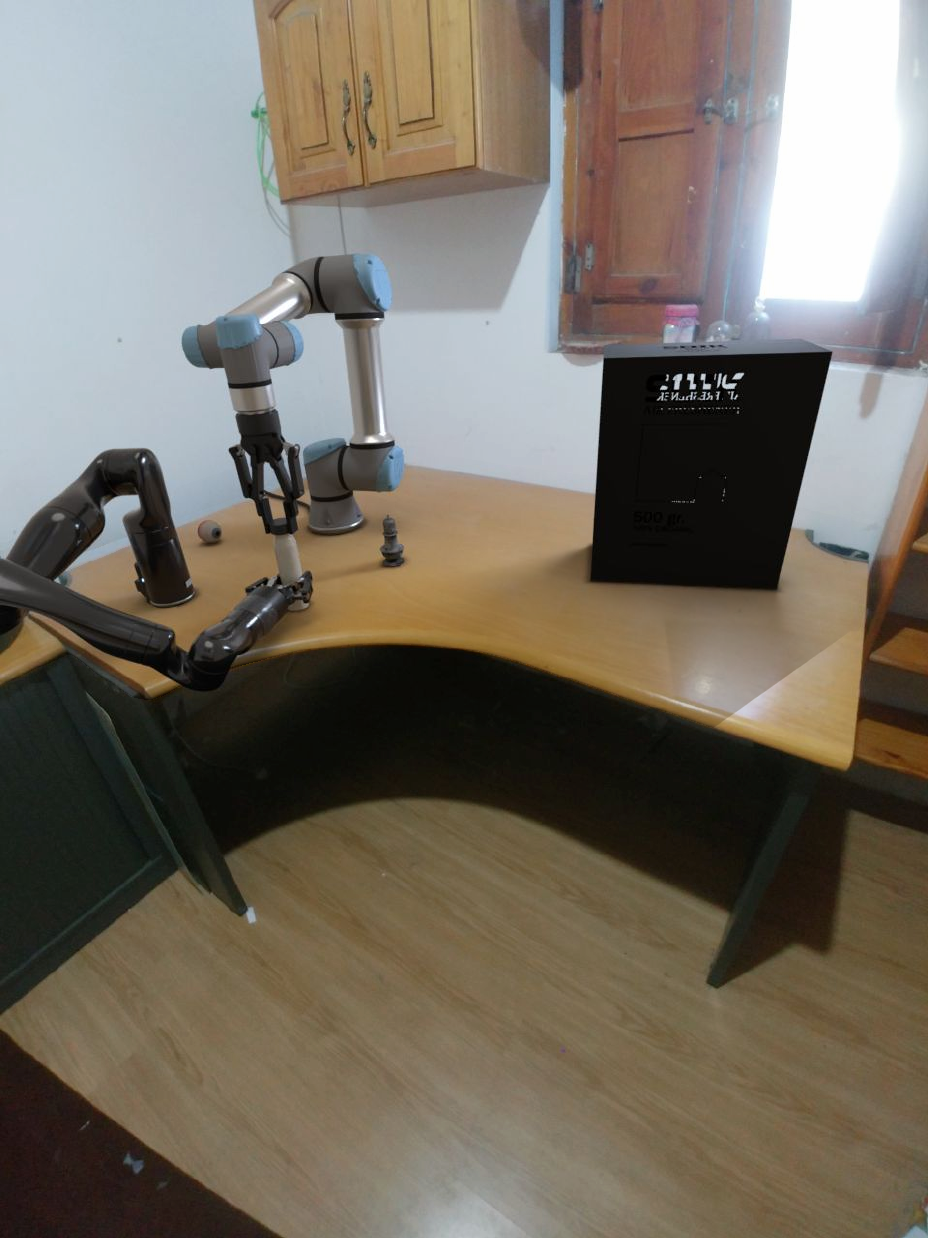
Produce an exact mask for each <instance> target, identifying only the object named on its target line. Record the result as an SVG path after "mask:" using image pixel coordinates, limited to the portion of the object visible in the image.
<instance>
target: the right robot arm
mask: <svg viewBox="0 0 928 1238" xmlns="http://www.w3.org/2000/svg"><path fill="white" fill-rule="evenodd" d="M392 289H393V288H392V284H391V280H390V275H389V273H388V270H387V268H386V267H385V265H384V263H383V261H382V260H381V259H380V258H379V257H378V256H377V255H376V254H372V253H359V252H357V253H351V254H339V255H327V256H326V255H325V256H314V257H310V258H307V259H305V260H303V261H301V262H299V263H297V264H294V265H292V266H291V267H289V268H287V269H286V270H284V271H282V272H280V273H279V274H277V275H276V276H275V277H274V278H273V280H272V281H271V285H270V286H268V287H267V288H265V289H263V290H262V291H261V292H258V293H257V294H255V295H254V296H252V297H251V298H249V299H248V300H246V301H244V302H243V303H241V304H239V305H238V306H236V307H235V308H233V309H231V310H230V311H228V312H226V313H225V314H224V315H219V316H218V317H216V318H215V319H214V320H213V321H212V322H210V323H208V324H197V325H192V326H188V327H186V328H185V329H184V331H183V332H182V335H181V349H182V351H183V353H184V356H185V358H186V360H187V361H188V362H189V364H190V365H192V366H193V367H196V368H200V369H209V370H214V369H224V372H225V376H226V380H227V386H228V391H229V397H230V401H231V406H232V409H233V411H234V412H236V414H235V415H234V417H235V423H236V426H237V429H238V433H239V435H240V441H239V443H238V444H237V443H236V444H233V445H232V446H230V447H229V448H228V453H229V455H230V456H231V458H232V460H233V463H234V466H235V470H236V473H237V477H238V481H239V485H240V488H241V493H242V496H243V498H244V499H250V500H252V501H253V502H254V505H255V509H256V510H255V511H256V513H257V514H256V515H257V516H258V517H260V518H261V520H262V523H263V528H264V529H263V530H264V533H265V535H271V533H270V529H269V522H270V521H271V520H273V519H274V517H273V512H272V509H271V503H270V500H269V499H270V498H269V497H265V496H266V495H267V496H270V497H272V498H276V499H280V500H283V502H282V507H283V512H284V516H285V518H286V521H287V526H288V531H289V534H292V535H294V534H295V533H296V532H297V531H298V530H299V525H298V520H297V516H299V514H300V511H299V506H298V505H302V506H304V507H306V508H307V509H308V510H309V513H308V521H307V524H308V528H309V529H308V530H310V531H311V532H312V533H314V534H317V535H323V536H324V535H325V536H327V535H329V536H331V535H339V534H340V535H341V534H345V533H350V532H353V531H355V530H357V529H359V528H361V527H362V526H363V525H364V523H365V519H364V514H363V512H362V510H361V508H360V505H359V504H358V501H357V500H356V498H355V495H354V492H375V493H391V492H393V491H395V490H397V488H398V487H399V485H400V484H401V482H402V479H403V476H404V472H405V453H404V450H403V448H402V447H400V446H399V445H396V440H395V437H394V436H393V435H392V434H391V433H390V431H389V429H388V427H389V426H388V417H387V405H386V395H385V394H386V393H385V383H384V382H385V381H384V371H383V358H382V347H381V334H380V328H381V325H382V324H383V323H384V322H385V312H387V311H389V310H390V309H391V307H392V300H393V290H392ZM315 314H334V322H335V323H336V324H337V325H338V326H339V327H340V328H341V330H342V336H343V344H344V354H345V363H346V373H347V381H348V391H349V399H350V408H351V417H352V426H353V427H352V428H353V435H352V436H351V437H350V438H349V440H348V443H349V445H348V444H347V441H346V439H345V438H342V437H334V438H328V439H323V440H318V441H315V442H313V443H309V444H308V445H306V446H305V447H304V448H303V450H302V457H303V458H302V460H303V467H304V471H305V477H306V481H307V486H308V492H309V498H310V504H308V503H307V502H304V501H302V500H298V499H300V498H301V497H303V496H304V495H305V493H306V492H305V484H304V479H303V473H302V468H301V462H300V452H301V445H300V444H298V443H295V444H292V443H290V442H287V441H286V439H285V437H284V435H283V433H282V424H281V421H280V414H279V411H278V410H277V409H276V406H277V400H276V395H275V391H274V386H273V380H272V375H271V370H273V369H276V368H277V369H278V368H281V367H284V366H285V367H288V366H290V365H292V364H294V363H296V362H297V361H299V360H300V359H301V358H302V355H303V353H304V349H305V342H304V338H303V335H302V333H301V332H300V330H299V329H298V328H297V326H296V325H294V323H291V322H290V321H291V320H299V319H300V320H301V319H302V318H305V317H306V316H307V315H315ZM283 452H285V456H287V465H288V470H287V468H286V465H285V460H284V457H283V455H282V454H283ZM246 454H247V455H248V456H249V463H248V459H247V456H246ZM265 463H267V464H269V466H270V468H271V469H272V470H273V472H274V475H275V477H276V480H277V483H278V485H279V487H280V490H281V492H282V494H283V495H280V494H276V493H274V492H273V493H272V492H270V491H268V490H266V489H265ZM249 466H250V467H249ZM250 468H251V471H250ZM288 471H289V473H288Z"/></svg>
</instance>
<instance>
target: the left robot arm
mask: <svg viewBox="0 0 928 1238" xmlns="http://www.w3.org/2000/svg"><path fill="white" fill-rule="evenodd" d="M161 466H162V465H161V463H160V460H159V459H158V457H157V455H156V454H155V453H154V452H153V451H152V450H151V449H149V448H147V447H121V448H118V447H117V448H110V449H106V450H103V451H101V452H100V453H98V454H97V456H96V457H95V458H94V459H93V460H92V461H91V462H90V463H89V464H88V465H87V467H86V468H85V469H84V470H83V472H82V473H81V474H80V475H79V476H78V477H77V478H76V479H75V480H74V481H73V482H71V483H70V484H69V485H67V487H65V489H63V490H62V491H61V492H60V493H58V495H56V496H55V497H53V498H52V499H50V500H49V501H48V502H47V503H46V504H44V505H43V506H42V507H41V508H39V510H37V511H36V512H35V513H34V514H33V515H32V516H31V517H30V519H29V520H28V521H27V522H26V524H25V526H23V528H22V530H21V531H20V533H19V535H18V536H17V538H16V539H15V542H14V544H13V545H12V547H11V548H10V551H9V552H8V554H7V555H6V557H5V558H4V557H0V637H1V636H4V635H6V634H8V633H10V632H11V631H13V630H15V628H17V627H18V626H19V625H21V623H22V622H23V621H24V619H25V618H26V617H27V616H28V614H29V613H30V612H32V613H35V614H38V615H41V616H44V617H46V618H48V619H50V620H52V621H55V622H56V623H58V624H60V625H61V626H63V627H65V628H66V629H67V630H69V631H71V632H72V633H74V634H75V635H76V636H77V637H79V638H80V639H81V640H83V641H84V642H86V643H87V644H88V645H90V646H92V647H93V648H95V649H96V650H98V651H100V652H102V653H104V654H106V655H109V656H111V657H113V658H117V659H120V660H124V661H127V662H130V663H133V664H136V665H141V666H144V667H148V668H151V669H153V671H156V672H157V673H159V674H160V675H162V676H164V677H166V678H167V679H169V680H172V681H173V682H174V683H176V684H178V685H180V686H182V687H184V688H185V689H187V690H191V691H195V692H201V693H203V692H205V693H207V692H211V691H212V692H213V691H215V690H217V689H219V688H220V687H222V685H223V684H224V683H225V680H226V679H227V676H228V674H229V672H230V670H231V668H232V666H233V664H234V662H235V661H236V659H237V658H238V656H242V655H244V654H246V653H248V652H249V651H251V650H252V649H253V647H255V645H256V644H257V643H258V642H259V641H260V640H261V639H263V638H264V637H265V636H266V635H267V634H269V632H271V631H272V630H273V628H274V627H275V626H276V625H277V624H278V623H279V622H280V621H281V620H282V619H283V618H284V617H285V616H286V614H287V612H288V610H289V609H288V607H289V605H291V604H293V603H295V601H297V600H302V601H303V603H305V604H306V603H309V604H310V602H311V598H312V596H313V593H314V588H313V580H314V579H313V574H312V572H311V570H305V572H303V575H302V576H301V577H300V578H299V579H297V580H296V581H293V580H291V581H290V582H288V583H286V584H284V585H282V582H281V578H280V574H279V573H277V574H276V575H273V576H271V577H270V578H269V577H267V576H264V577H262V578H260V579H258V580H256V581H255V582H253V583H252V584H250V585H248V586H246V587H244V591H245V597H244V598H243V599H241V601H240V602H239V603H238V604H236V606H235V607H234V608H233V610H232V611H231V612H230V613H229V614H227V616H226V617H224V618H223V619H222V620H221V621H220V622H218V623H215V624H213V625H212V626H210V627H208V628H206V629H204V630H203V631H202V632H200V633H199V634H198V635H197V636H196V638H194V640H193V641H192V643H191V645H190V646H189V650H188V651H187V650H185V649H183V648H182V647H180V646H179V645H177V641H176V639H177V636H176V632H175V630H174V629H173V628H171V627H169V626H167V625H164V624H161V623H158V622H155V621H152V620H149V619H146V618H143V617H140V616H136V615H134V614H130V613H127V612H124V611H121V610H118V609H116V608H114V607H110V606H108V605H106V604H103V603H102V602H99V601H97V600H95V599H93V598H90V597H88V596H86V595H84V594H83V593H80V592H78V591H75V590H74V589H72V588H69V587H68V586H66V585H63V584H61V583H59V582H57V581H56V580H57V579H58V578H59V577H60V576H61V575H62V574H63V573H64V572H66V570H67V569H68V568H69V567H71V565H73V563H75V562H76V560H77V559H78V558H79V557H80V556H81V555H82V554H84V553H86V551H87V550H88V549H89V548H90V547H91V546H92V545H93V544H94V543H95V542H96V541H97V540H98V539H99V537H100V536H102V534H103V532H104V530H105V527H106V513H105V508H104V507H106V505H107V504H109V502H111V501H112V500H114V499H115V498H118V497H123V496H124V497H125V496H128V497H129V496H137V497H138V500H139V506H138V507H136V508H134V509H132V510H129V511H128V512H126V513H125V514H123V516H122V524H123V527H124V530H125V532H126V535H127V538H128V541H129V544H130V547H131V549H132V553H133V555H134V557H135V562H134V563H133V566H134V569H135V573H136V576H137V579H135V580H134V585H135V588H136V590H137V592H139V593H140V594H141V595H142V596H143V597H144V598H145V601H146V603H148V604H151V606H153V607H157V608H170V607H174V606H175V607H176V606H178V605H182V604H184V603H186V602H189V601H190V600H192V599H193V598H194V597H195V596H196V589H195V587H194V584H193V583H194V582H193V579H192V576H191V574H190V572H189V568H188V565H187V561H186V558H185V554H184V552H183V547H182V545H181V542H180V539H179V536H178V532H177V529H176V526H175V523H174V520H173V517H172V508H171V501H170V497H169V493H168V489H167V486H166V481H165V477H164V472H163V469H162V467H161ZM299 584H300V588H298V585H299Z"/></svg>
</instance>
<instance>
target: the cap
mask: <svg viewBox="0 0 928 1238" xmlns="http://www.w3.org/2000/svg"><path fill="white" fill-rule="evenodd" d="M269 529H270V535H273V536H275V535H285V534H289V531H288V526H287V521H286V517H278V518H277V517H276V518H273V520H271V521H270V522H269Z"/></svg>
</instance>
